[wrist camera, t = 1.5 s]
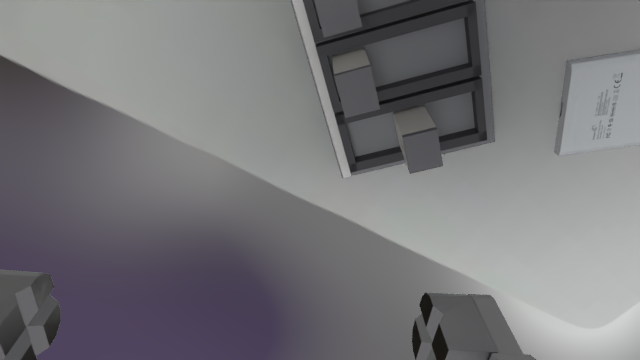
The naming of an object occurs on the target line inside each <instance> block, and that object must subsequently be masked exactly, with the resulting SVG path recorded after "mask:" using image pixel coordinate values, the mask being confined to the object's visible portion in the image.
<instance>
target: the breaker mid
mask: <svg viewBox="0 0 640 360" xmlns="http://www.w3.org/2000/svg"><path fill="white" fill-rule="evenodd" d="M332 61H333V70H334V77H335V81H336V85H337V89H338V92H339V96H340V100H341V104H342V108H343V111H344V115H345V118H348V117H352V116H356V115H359V114H363V113H367V112H371V111H375V110H379V109H380V106H379V101H378V97H377V92H376V87H375V83H374V78H373V74H372V69H371V65H370V62H369V60H368V57H367V54H366V51H365V49H364V47H362V48H358V49H354V50H351V51H347V52H344V53H340V54H336V55H333V56H332Z"/></svg>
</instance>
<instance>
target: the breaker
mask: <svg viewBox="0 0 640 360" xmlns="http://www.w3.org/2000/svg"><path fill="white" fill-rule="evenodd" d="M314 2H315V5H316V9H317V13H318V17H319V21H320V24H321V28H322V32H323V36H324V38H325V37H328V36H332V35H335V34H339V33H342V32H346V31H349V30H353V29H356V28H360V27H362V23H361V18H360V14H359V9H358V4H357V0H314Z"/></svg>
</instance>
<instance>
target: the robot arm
mask: <svg viewBox="0 0 640 360" xmlns="http://www.w3.org/2000/svg"><path fill="white" fill-rule="evenodd" d="M53 288H54V285H53V282H52V279H51V276H50V275H48V274H45V273H35V272H23V271H10V270H0V360H37V358H36V355H38V354H40V353H41V352H43V351H44V350H46V349H47V348H49V347H50V345H51V343H52V342H53V340H54V338H55V336H56V335H57V331H58V328H59V324H60V317H61V316H60V314H61V313H60V307H59V303H58V301H56V300H55V299H54V298H53V297H51V296H50V295H49V294H50V292H51V291H52V289H53ZM420 308H421V312H422V314H421V315H420V316H418V317H417V318H416V319H415V322H414V326H413V332H412V346H413V352H414V356H415V360H536V359H535V358H534V357H532V356H531V355H525V354H523V352H522V350H521V349H520V347H519V345H518V343H517V341H516V339H515V337H514V335H513V333H512V332H511V330H510V328H509V326H508V324H507V322H506V320H505V318H504V316H503V315H502V313H501V311H500V309H499V307H498V305H497V303H496V301H495V299H494V298H493V297H492V296H490V295H476V294H468V295H466V294H448V293H424V295H423V296H422V298H421V302H420Z"/></svg>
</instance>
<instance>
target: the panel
mask: <svg viewBox="0 0 640 360" xmlns="http://www.w3.org/2000/svg"><path fill="white" fill-rule="evenodd" d="M291 3H292V7H293V10H294V14H295V17H296V20H297V24H298V27H299V31H300V34H301V38H302V41H303V44H304V48H305V51H306V55H307V58H308V62H309V65H310V69H311V72H312V75H313V79H314V82H315V86H316V89H317V93H318V96H319V99H320V103H321V106H322V110H323V113H324V117H325V120H326V124H327V127H328V130H329V134H330V137H331V141H332V144H333V148H334V151H335V155H336V158H337V161H338V165H339V168H340V172H341V175H342V178H347V177H351V176H352V175H357V174H361V173H365V172H369V171H373V170H378V169H382V168H386V167H390V166H394V165H399V164H403V163H406V162H405V159H404V156H403V153H402V151H401V148H400V145H399V141H398V136H397V131H396V126H395V121H394V116H393V112H394V111H398V110H402V109H406V108H410V107H414V106H418V105H422V104H423V105H424V107H425V108H426V110H427V112H428V114H429V115H430V117H431V119H432V121H433V122H434V124H435V126H436V128H437V129H438V136H439V143H440V150H441V154H445V153H449V152H453V151H457V150H461V149H466V148H470V147H474V146H478V145H482V144H487V143H491V142H495V135H494V121H493V107H492V94H491V80H490V66H489V52H488V39H487V25H486V11H485V0H357V4H358V9H359V14H360V18H361V23H362V27H360V28H356V29H353V30H349V31H346V32H342V33H339V34H335V35H332V36H328V37H325V38H324V36H323V32H322V28H321V24H320V21H319V17H318V13H317V9H316V5H315V2H314V0H291ZM362 47H364V49H365V51H366V54H367V57H368V60H369V62H370V65H371V69H372V74H373V78H374V83H375V87H376V92H377V97H378V101H379V106H380V109H379V110H375V111H371V112H367V113H363V114H359V115H356V116H352V117H348V118H345V115H344V111H343V108H342V104H341V100H340V96H339V92H338V89H337V85H336V81H335V77H334V70H333V61H332V56H333V55H336V54H340V53H344V52H347V51H351V50H354V49H358V48H362Z"/></svg>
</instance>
